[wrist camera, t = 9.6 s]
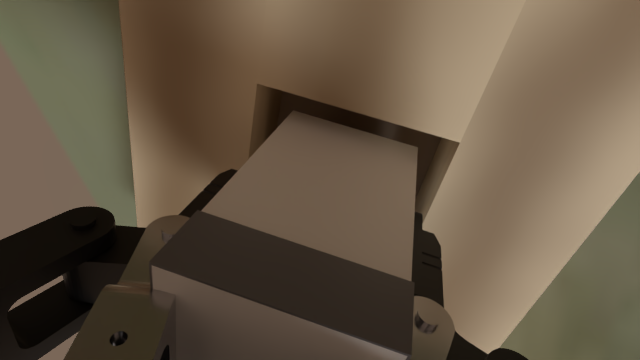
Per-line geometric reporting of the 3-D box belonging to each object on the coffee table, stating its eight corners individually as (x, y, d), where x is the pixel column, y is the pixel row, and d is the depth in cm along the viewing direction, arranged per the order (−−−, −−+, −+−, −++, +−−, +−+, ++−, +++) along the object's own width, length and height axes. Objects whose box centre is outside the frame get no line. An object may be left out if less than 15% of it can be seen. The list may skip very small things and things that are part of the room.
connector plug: (419, 146, 13) (411, 355, 6) (380, 244, 15) (343, 471, 8) (292, 108, 13) (148, 262, 6) (274, 210, 15) (158, 398, 9)
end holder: (664, -1, 11) (765, 14, 8) (457, 320, 20) (463, 392, 17) (189, -114, 13) (106, -143, 10) (186, 228, 22) (141, 276, 18)
